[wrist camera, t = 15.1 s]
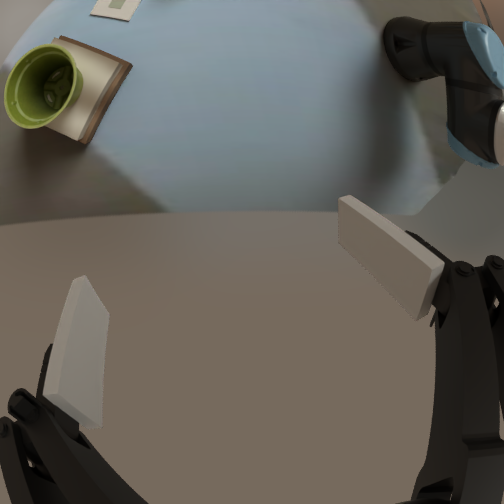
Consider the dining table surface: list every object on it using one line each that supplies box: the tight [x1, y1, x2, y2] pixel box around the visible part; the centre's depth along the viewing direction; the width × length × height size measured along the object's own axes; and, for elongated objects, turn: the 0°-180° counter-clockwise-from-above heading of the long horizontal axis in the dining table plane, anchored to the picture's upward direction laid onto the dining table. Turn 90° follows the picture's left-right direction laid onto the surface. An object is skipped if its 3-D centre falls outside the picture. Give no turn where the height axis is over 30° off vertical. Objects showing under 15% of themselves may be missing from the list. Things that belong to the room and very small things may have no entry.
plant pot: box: [4, 44, 83, 129], centre depth 21 cm, size 9×9×9 cm
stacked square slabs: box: [45, 35, 133, 144], centre depth 27 cm, size 13×13×6 cm
